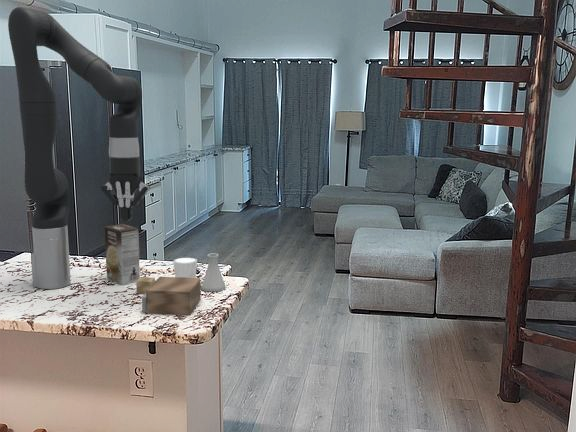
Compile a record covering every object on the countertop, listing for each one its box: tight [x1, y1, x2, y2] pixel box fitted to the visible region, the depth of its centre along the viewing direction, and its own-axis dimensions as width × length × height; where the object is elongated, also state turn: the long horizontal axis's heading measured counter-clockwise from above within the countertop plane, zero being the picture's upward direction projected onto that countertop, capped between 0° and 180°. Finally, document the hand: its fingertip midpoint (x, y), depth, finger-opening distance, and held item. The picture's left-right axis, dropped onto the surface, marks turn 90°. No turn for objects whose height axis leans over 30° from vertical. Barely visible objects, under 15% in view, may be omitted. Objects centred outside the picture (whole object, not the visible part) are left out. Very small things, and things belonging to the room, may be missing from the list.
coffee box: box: [104, 223, 141, 286], centre depth 169 cm, size 9×6×16 cm
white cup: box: [172, 257, 198, 278], centre depth 168 cm, size 7×7×7 cm
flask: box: [200, 252, 226, 293], centre depth 163 cm, size 7×7×10 cm
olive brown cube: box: [135, 276, 156, 295], centre depth 160 cm, size 4×4×4 cm
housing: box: [146, 276, 202, 316], centre depth 148 cm, size 11×12×6 cm
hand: (126, 220), depth 152 cm, fingers closed
